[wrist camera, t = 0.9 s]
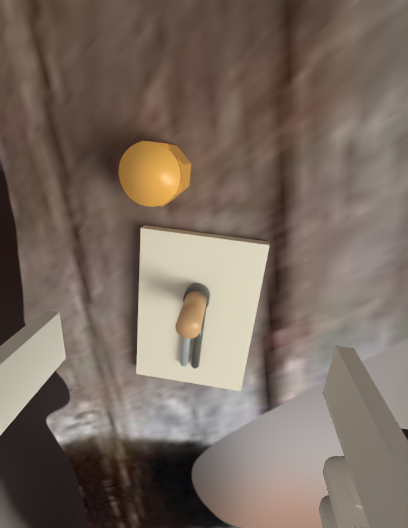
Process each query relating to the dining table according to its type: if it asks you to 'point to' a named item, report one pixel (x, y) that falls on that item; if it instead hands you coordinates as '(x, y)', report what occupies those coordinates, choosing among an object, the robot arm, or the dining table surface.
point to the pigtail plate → (221, 312)
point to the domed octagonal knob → (154, 173)
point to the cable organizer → (341, 497)
